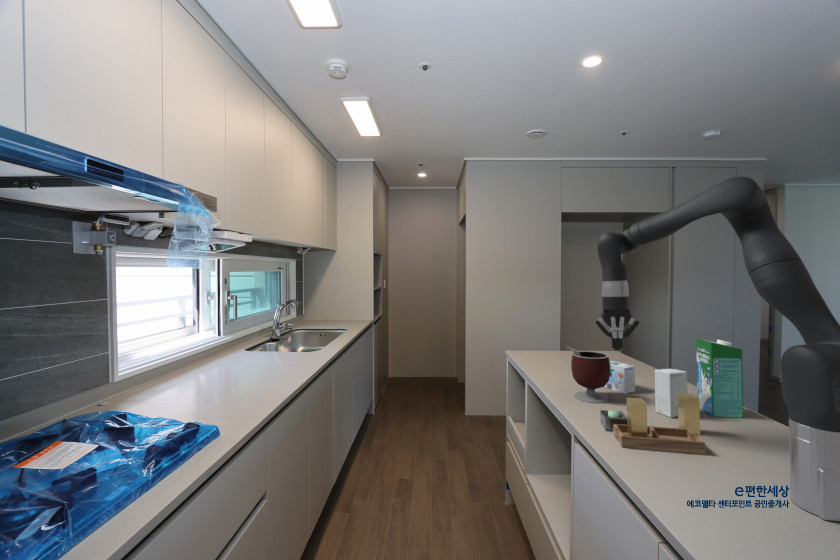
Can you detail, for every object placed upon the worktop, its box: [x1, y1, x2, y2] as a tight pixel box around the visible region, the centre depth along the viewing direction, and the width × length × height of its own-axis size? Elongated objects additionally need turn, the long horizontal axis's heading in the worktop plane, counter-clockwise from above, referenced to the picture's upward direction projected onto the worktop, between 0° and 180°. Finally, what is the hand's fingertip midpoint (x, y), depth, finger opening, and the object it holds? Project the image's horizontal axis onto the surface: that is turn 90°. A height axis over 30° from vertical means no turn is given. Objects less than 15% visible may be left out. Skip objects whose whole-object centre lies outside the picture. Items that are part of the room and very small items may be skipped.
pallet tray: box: [612, 424, 706, 455], centre depth 102 cm, size 9×20×3 cm, turn 75°
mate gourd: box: [566, 346, 611, 404], centre depth 141 cm, size 16×14×20 cm
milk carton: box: [695, 337, 745, 419], centre depth 123 cm, size 9×9×25 cm
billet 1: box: [626, 397, 648, 438], centre depth 103 cm, size 4×4×11 cm
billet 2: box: [677, 393, 701, 436], centre depth 109 cm, size 4×4×11 cm
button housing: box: [599, 409, 627, 432], centre depth 113 cm, size 6×6×4 cm
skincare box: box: [654, 368, 689, 418], centre depth 123 cm, size 8×6×15 cm
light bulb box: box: [603, 360, 636, 395], centre depth 150 cm, size 11×7×11 cm, turn 25°
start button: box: [607, 409, 620, 417], centre depth 113 cm, size 3×3×4 cm
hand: (617, 350), depth 113 cm, fingers closed
